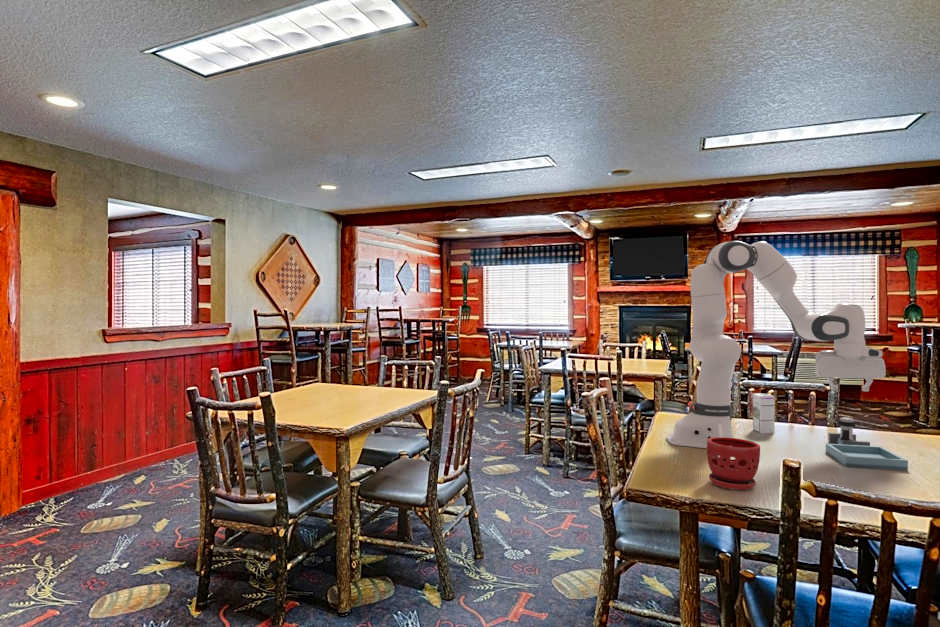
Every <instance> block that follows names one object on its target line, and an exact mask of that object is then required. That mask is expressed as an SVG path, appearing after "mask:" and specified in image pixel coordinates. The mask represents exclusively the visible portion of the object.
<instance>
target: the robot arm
mask: <svg viewBox="0 0 940 627" xmlns="http://www.w3.org/2000/svg"><path fill="white" fill-rule="evenodd" d="M744 270H747V271H749V272H750V273H751V274H752V275H753V276H754V277H755V278H756V280H757V281H758V282H759V284H761V285H762V286H763V288H765V290H766V291H767V292H768V293H769V294H770V295H771V297H772V298H773V300H774V301H775V302H776V304H777V305H778V306H779V307H780V309H781V310H782V311H783V313H784V314H785V316H786V317H787V318H788V320H789V322H790V325H791V327H792V328H791V329H792V332H793V333H794V335H795V336H796V337H797V338H799V339H800V340H803V341H816V342H831V341H833V350H819V351H818V352H816V353H815V356H814V358H815V368H814V374H815V375H816V376H817V377H819V378H826V381H827V382H828V384H829V385H830V390H831V391H832V392H833V391H834V392H835V391H838V385H836V384H834V382H833V381H835V378H838V379H842V378H843V379H865V381H866V382H865V383H864V385H861V391H862V392H869V391H870V386H871V385H872V383H873V382H874V379H884V378H885V377H886V375H887V374H886V363H885V359H884V358H882V357H883V353H884V352H883V350H881V349H877V348H873V347H870V346H866V339H865V332H866V317H865V311H864V309H863V308H862V307H861V305H858V304H853V303H836V305H835V306H833V307H831V308H830V309H828V310H825V311H822V312H820V313H817V312H812V311H810V310H808V309H807V308H806V307H805V306H804V304H803V303H802V302H801V300H800V299H799V298H798V297H797V296H796V294H795V292H794V286H795V284H796V282H797V278H798V277H797V276H798V275H797V273H796V271H795V269H794V267H793V266H792V265H791V263H790V262H789V261H788V260H787V259H786V257H784V256H783V255H782V254H781V253H780V251H778V250H777V249H776V248H775V247H774V246H773V245H771V244H770V243H768V242H767V241H764V240H762V241H761V240H760V241H756V242H753V243H751V244H749V243H746V242H743V241H740V240H732V241H731V240H730V241H725V242H721V243H719V244H717V245H715V246H713V247H711V248H710V250H709V251H708V253H707V255H706V257H705V259H704V262H703V263H701V264H698V265H696V266H695V267H694V268H693V269H692V271H691V275H690V297H691V298H690V299H691V309H692V329H691V330H692V332H691V340H690V341H689V352H690V353H691V355H692V356H693V357H694V358H695V359H696V360H698V361H699V362H702V364H701V368H700V373H699V375H698V378H697V379H696V401H695V402H693V401H688V403H687V406H688V408H690V410H689V411H690V412H689V413H687V414H686V415H685V416H683V417H681V418H679V420H677V421H676V422H675V424H674V427H673V433H669V434H668V435H667V436H666V440H667V442H669V443H670V444H671V445H673V446H680V447H688V448H689V447H691V448H701V449H707V440H708V439H709V438H715V437H726V438H734V434H733V427H732V421H733V405H732V404H731V403H732V402H731V396H732V395H731V394H732V393H731V391H732V380H733V374H734V370H735V366H736V364H737V362H738V361H739V359H740V358H741V353H742V350H741V347H740V344H739V343H738V341H736V340H735V339H734V338H732V337H730V336H729V335H725V334H724V326H725V323H726V322H725V321H726V319H727V316H728V310H727V301H726V291H725V286H724V284H725V278H726V276H727V274H733V273H737V272H742V271H744ZM731 447H732V446H731Z"/></svg>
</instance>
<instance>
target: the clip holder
mask: <svg viewBox="0 0 940 627" xmlns="http://www.w3.org/2000/svg"><path fill="white" fill-rule="evenodd" d="M840 434H841V432H828V434H827V435H828V436H827V437H828V441H827V442H828V444H838V438H841V437H840ZM856 438H857V434H855V433H853V440H855V441H853V440H841V444H843V445H861V446H871V442H870V441H868V440H857V439H856Z"/></svg>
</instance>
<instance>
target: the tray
mask: <svg viewBox="0 0 940 627" xmlns="http://www.w3.org/2000/svg"><path fill="white" fill-rule="evenodd" d="M825 453H826V454H827V455H829V456H830V457H831V458H833V459H834V460H836V461H837V462H839V463H840V464H841V465H843V466H844V467H846V468H861V469H862V468H863V469H877V470H878V469H879V470H893V471H908V470H909V467H908V466H909V461H908V460H907V459H906V458H904V457H902V456H900V455H898V454H896V453H894V452H893V451H891V450H889V449H887V448H885V447H883V446H878V445H877V446H876V445H875V446H874V445H870V446H861V445H843V444H832V443H825Z"/></svg>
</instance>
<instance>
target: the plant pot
mask: <svg viewBox="0 0 940 627" xmlns="http://www.w3.org/2000/svg"><path fill="white" fill-rule="evenodd" d="M731 446H732V447H731ZM706 456H707V463H708V467H709V469H710V471H711V472H710V473H709V475H708V479H709V481H711V483H713V484H715V485H716V486H718V487H721V488H724V489H726V490H734V491H735V490H737V491H738V490H739V491H744V490H751V489H752V488H754V487H755V486H756V484H757V481H756V480H755V479H754V478H755V476H756V474H757V472H758V469H759V464H760V458H761V445H760V444H758V443H757V442H754V441H750V440H747V439H743V438H736V437H735V438H726V437H715V438H709V439H708V440H707V448H706ZM731 458H734V459H731Z"/></svg>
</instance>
